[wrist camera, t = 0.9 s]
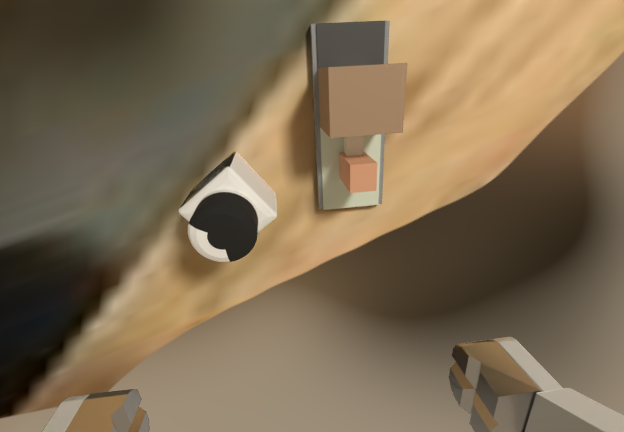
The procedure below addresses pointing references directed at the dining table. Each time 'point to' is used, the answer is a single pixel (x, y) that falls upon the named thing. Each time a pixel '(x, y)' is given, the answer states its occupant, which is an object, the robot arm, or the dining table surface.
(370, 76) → the tunnel board
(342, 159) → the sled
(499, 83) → the dining table surface
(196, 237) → the medicine bottle
